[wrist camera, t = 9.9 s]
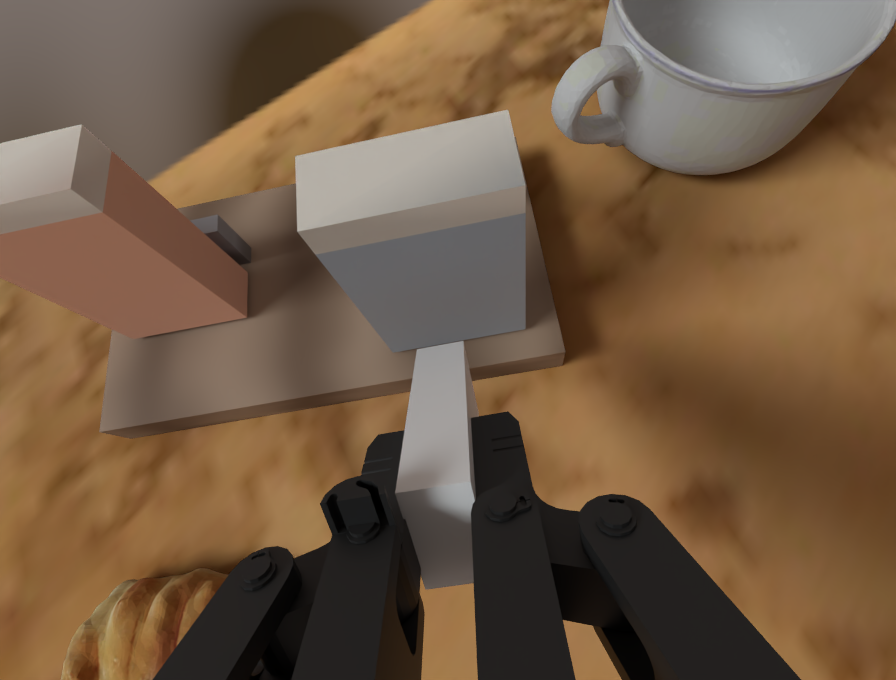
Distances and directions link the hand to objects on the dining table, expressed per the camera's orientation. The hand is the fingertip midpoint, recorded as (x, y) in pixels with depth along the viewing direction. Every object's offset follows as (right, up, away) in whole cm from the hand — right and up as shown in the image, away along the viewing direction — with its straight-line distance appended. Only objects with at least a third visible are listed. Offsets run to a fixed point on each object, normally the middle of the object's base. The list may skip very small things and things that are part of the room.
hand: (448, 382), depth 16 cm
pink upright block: (-13, +3, +9) cm, 16 cm away
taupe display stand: (-6, +4, +10) cm, 13 cm away
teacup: (+12, +13, +11) cm, 20 cm away
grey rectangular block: (0, +2, +6) cm, 7 cm away
